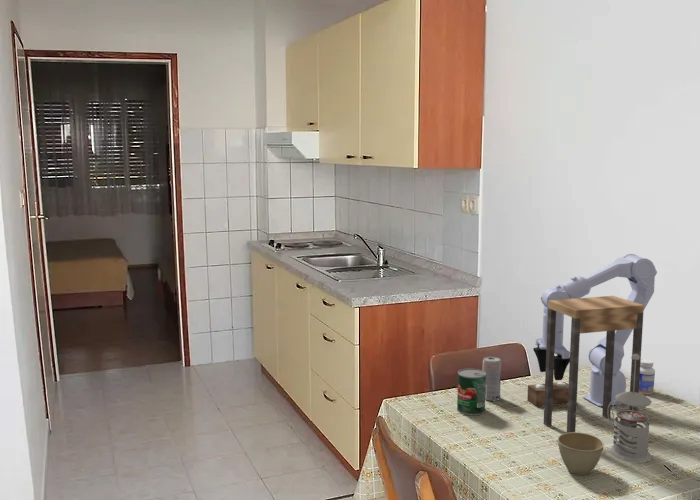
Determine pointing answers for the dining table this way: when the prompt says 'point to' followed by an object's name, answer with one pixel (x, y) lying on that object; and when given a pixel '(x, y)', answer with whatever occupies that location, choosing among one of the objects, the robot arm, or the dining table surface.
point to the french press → (628, 446)
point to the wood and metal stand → (588, 319)
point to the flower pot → (580, 451)
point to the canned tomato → (471, 391)
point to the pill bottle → (646, 377)
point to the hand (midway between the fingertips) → (551, 375)
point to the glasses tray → (538, 394)
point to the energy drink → (492, 377)
